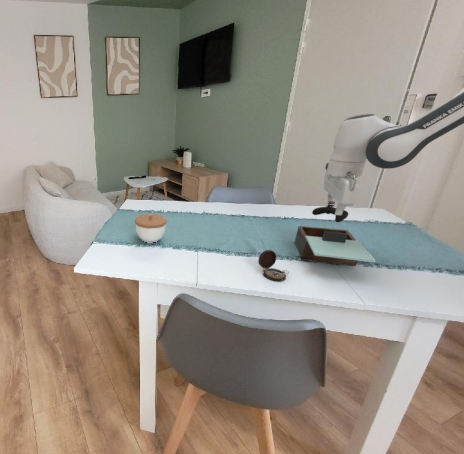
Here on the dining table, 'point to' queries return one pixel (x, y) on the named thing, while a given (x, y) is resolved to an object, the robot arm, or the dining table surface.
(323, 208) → the gaming controller
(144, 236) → the lidded bowl
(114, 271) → the dining table surface
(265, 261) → the compass
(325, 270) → the dining table surface
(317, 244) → the case lid
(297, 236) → the case
